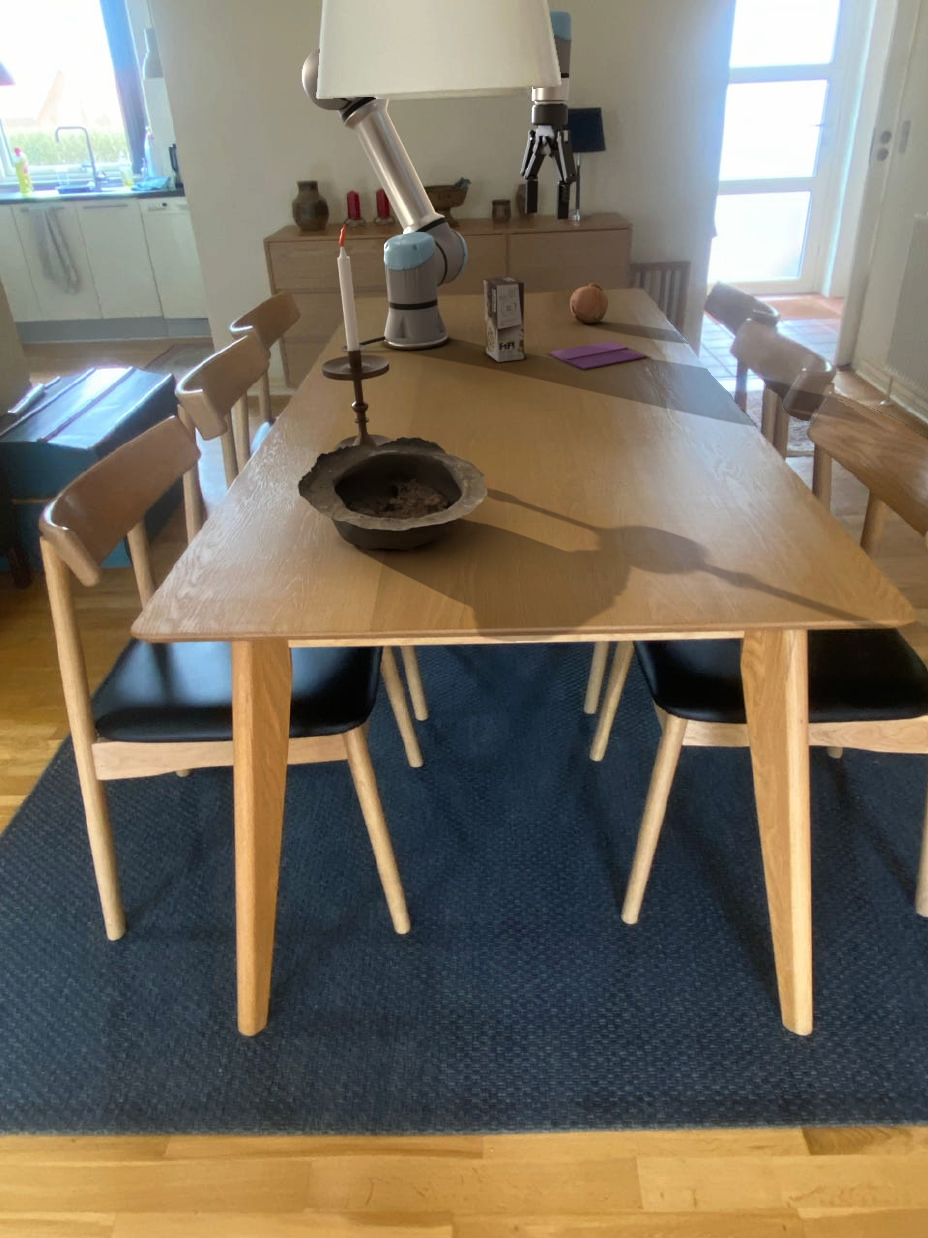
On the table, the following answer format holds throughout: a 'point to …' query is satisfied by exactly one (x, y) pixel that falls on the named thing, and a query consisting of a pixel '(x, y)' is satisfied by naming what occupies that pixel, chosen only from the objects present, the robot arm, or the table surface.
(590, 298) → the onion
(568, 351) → the napkin
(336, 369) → the candlestick
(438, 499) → the stone bowl
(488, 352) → the coffee box
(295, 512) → the table surface
